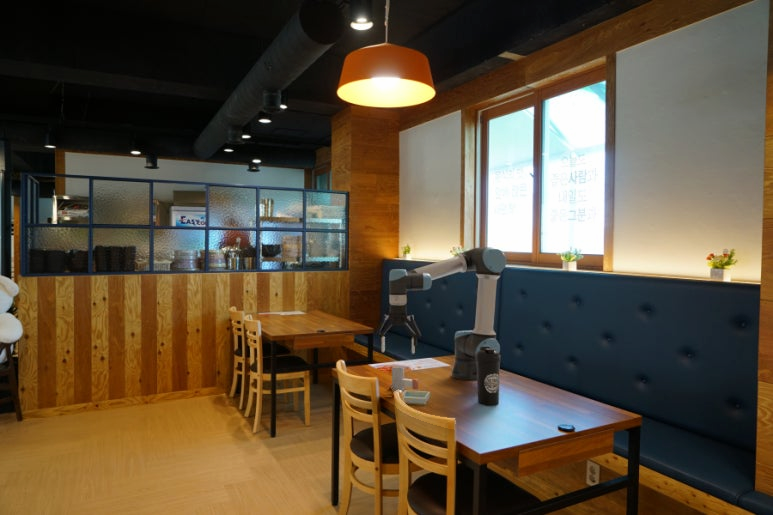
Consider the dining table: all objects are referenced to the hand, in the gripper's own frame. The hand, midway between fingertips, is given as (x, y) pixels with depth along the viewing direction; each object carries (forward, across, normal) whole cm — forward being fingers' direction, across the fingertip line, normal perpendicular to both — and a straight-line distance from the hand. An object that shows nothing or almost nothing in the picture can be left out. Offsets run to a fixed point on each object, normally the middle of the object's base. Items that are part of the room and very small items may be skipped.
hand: (398, 352), depth 228 cm
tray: (+18, +9, -8) cm, 22 cm away
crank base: (+18, -3, +9) cm, 21 cm away
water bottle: (+18, +39, -4) cm, 44 cm away
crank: (+17, +2, +7) cm, 19 cm away
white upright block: (+18, 0, 0) cm, 18 cm away
